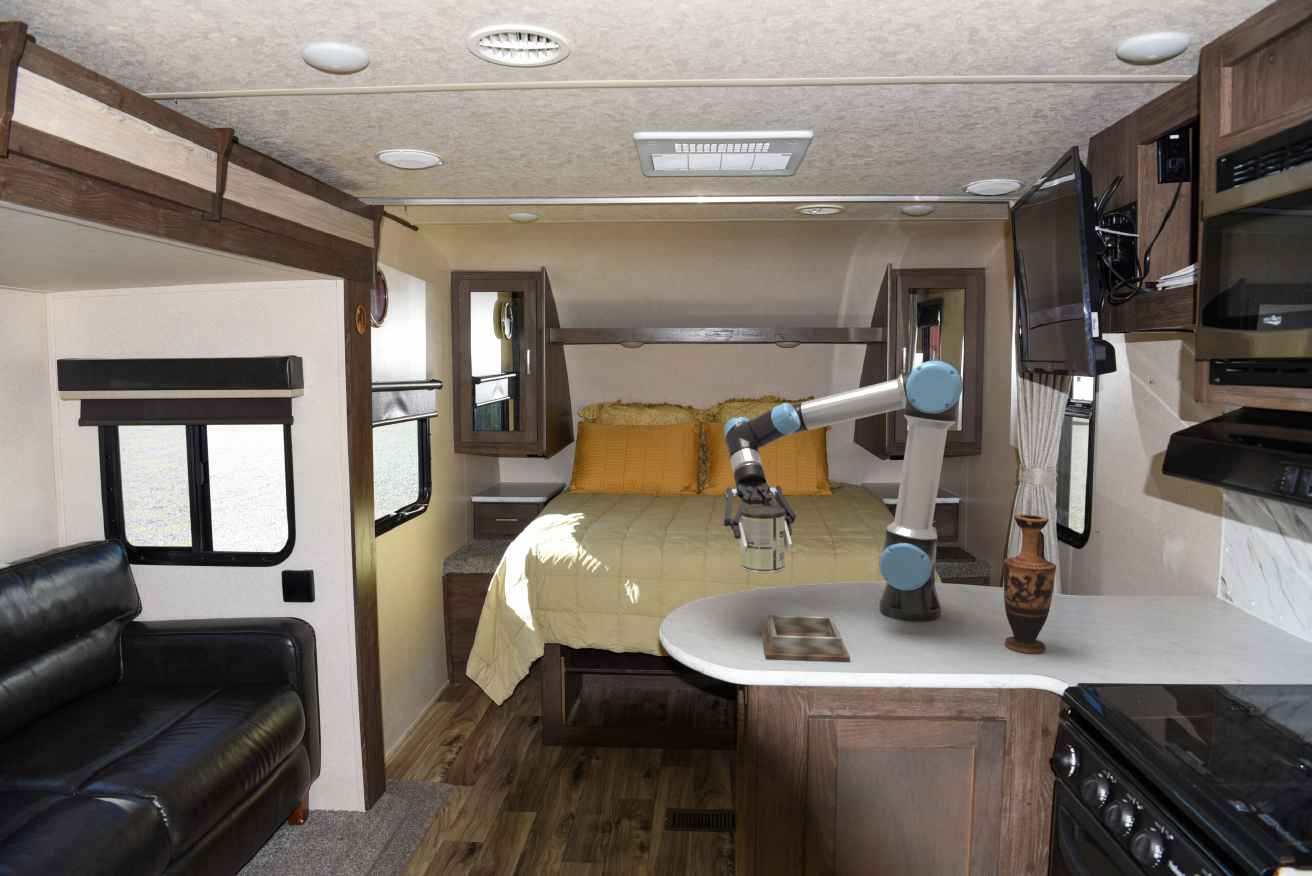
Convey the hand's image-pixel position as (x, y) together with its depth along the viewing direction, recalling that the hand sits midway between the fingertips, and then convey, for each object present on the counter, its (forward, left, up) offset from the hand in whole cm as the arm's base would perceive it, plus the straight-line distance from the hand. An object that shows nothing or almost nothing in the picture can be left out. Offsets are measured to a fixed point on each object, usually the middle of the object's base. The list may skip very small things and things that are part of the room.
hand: (767, 548), depth 188 cm
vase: (-58, +2, -21) cm, 62 cm away
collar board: (-8, +6, -21) cm, 23 cm away
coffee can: (+1, -3, -6) cm, 6 cm away
